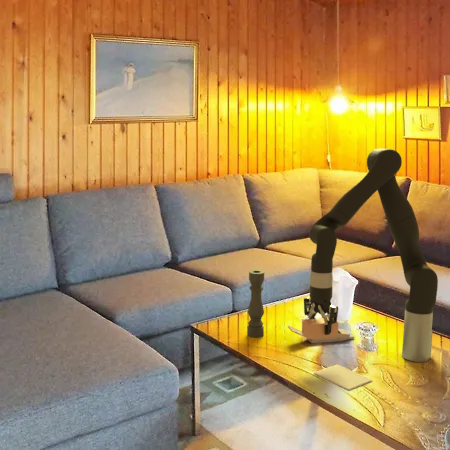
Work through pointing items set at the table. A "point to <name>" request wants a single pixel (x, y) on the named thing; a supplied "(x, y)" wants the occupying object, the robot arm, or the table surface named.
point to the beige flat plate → (342, 377)
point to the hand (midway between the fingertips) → (319, 331)
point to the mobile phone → (341, 336)
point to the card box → (317, 328)
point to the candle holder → (255, 305)
